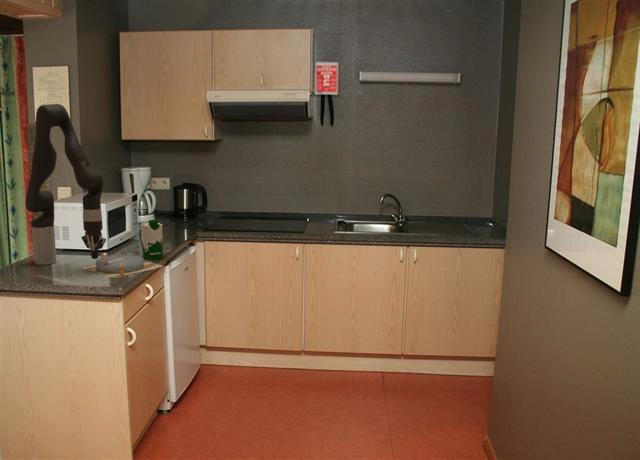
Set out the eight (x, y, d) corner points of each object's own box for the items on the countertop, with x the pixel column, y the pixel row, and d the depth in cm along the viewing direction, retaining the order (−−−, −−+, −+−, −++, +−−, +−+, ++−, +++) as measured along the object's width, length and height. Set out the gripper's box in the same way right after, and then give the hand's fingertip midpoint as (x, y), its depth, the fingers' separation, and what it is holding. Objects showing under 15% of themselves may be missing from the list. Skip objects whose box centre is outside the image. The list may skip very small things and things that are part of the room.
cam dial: (121, 259, 255) (120, 242, 253) (153, 265, 246) (152, 248, 244) (85, 268, 237) (84, 251, 236) (119, 275, 228) (118, 257, 227)
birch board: (79, 270, 240) (79, 258, 239) (130, 259, 261) (130, 248, 260) (113, 281, 225) (113, 268, 224) (165, 269, 246) (165, 257, 245)
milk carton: (147, 263, 254) (145, 222, 251) (140, 259, 261) (139, 219, 258) (165, 261, 260) (164, 220, 256) (158, 257, 267) (157, 217, 263)
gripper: (74, 218, 232) (76, 258, 235) (96, 221, 226) (98, 262, 229) (88, 216, 238) (91, 254, 242) (110, 219, 233) (112, 258, 236)
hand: (94, 258), depth 236 cm, fingers closed
